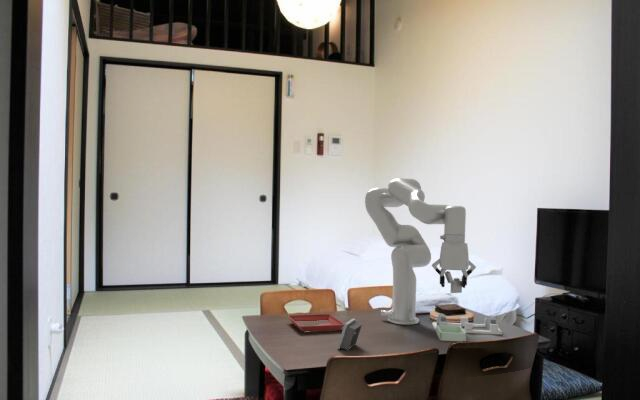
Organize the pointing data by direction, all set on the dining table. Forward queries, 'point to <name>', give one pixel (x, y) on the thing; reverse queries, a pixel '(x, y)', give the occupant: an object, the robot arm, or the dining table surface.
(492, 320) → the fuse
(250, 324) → the dining table surface
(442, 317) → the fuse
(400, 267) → the robot arm
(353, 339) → the electrical switch
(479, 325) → the fuse panel
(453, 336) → the tray
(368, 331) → the dining table surface
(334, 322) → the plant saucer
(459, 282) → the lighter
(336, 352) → the dining table surface
